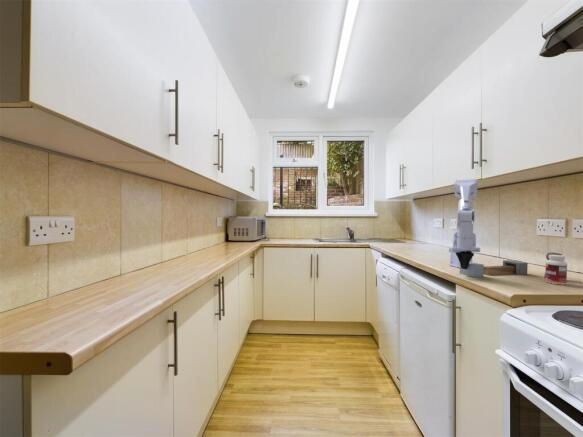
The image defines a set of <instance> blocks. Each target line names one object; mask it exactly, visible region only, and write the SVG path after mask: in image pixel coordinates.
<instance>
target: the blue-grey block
mask: <svg viewBox="0 0 583 437" xmlns="http://www.w3.org/2000/svg"><path fill="white" fill-rule="evenodd" d="M484 265H485V264H483V263H478V262H473V261H472V262H469V265H468V268H467V269H462V268H461V265H460V268H459V274H461V275H464V276H469V277H472V278H480V277H482V278H484V274H483V272H484V267H485V266H484Z"/></svg>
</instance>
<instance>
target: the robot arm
mask: <svg viewBox="0 0 583 437" xmlns="http://www.w3.org/2000/svg"><path fill="white" fill-rule="evenodd" d="M478 183H479V179H477V178H471V179H469V178H468V179H465V178H464V179H455V180H454V188H453V191H454V195H455V196H454V197H455V198H458V199H459V200H458V206H457V208H458V209H457V212H456V223H457V231H455V232H453V237H452V247H448V253H450V255H449V257H450V260H449V263H450V264H448V266H450V267H454V268H455V267H456V268H459V269H460V265H461V268H462V269H467V268H468V265H469V262H473V257H474V256H475V253H481V247H478V246H477V238H476V237H477V236H476V233H474V224H475V218H476V214H475V208H474V201H473V200H472V199H473V198H475V197H476V196H477V193H478V187H479V186H478V185H479V184H478Z"/></svg>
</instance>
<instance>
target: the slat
mask: <svg viewBox="0 0 583 437" xmlns="http://www.w3.org/2000/svg"><path fill="white" fill-rule="evenodd" d="M499 275H500V276H501V275H502V276H503V275H517V274H516V267H514V266H503V265H493V266H492V265H491V266H489V265H488V266H487V265H486V266H484V272H483V276H499Z"/></svg>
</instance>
